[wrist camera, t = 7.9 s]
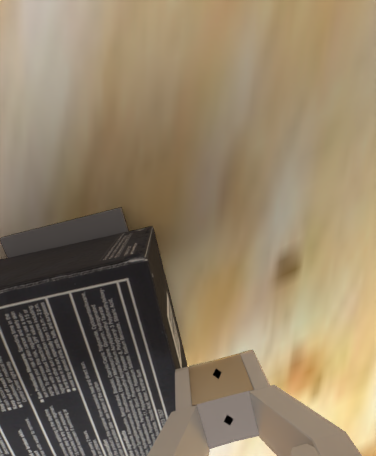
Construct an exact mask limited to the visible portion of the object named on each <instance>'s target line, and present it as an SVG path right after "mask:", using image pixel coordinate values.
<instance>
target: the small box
mask: <svg viewBox="0 0 376 456" xmlns="http://www.w3.org/2000/svg"><path fill="white" fill-rule="evenodd" d="M184 367H187V362H186V358H185V354H184V350H183V346H182V342H181V338H180V334H179V330H178V326H177V322H176V317H175V314H174V310H173V306H172V302H171V297H170V293H169V289H168V285H167V281H166V277H165V273H164V269H163V265H162V261H161V257H160V253H159V248H158V244H157V240H156V236H155V232H154V229H153V227H152V226H150V227H145V228H142V229H138V230H133V231H128V232H124V233H119V234H115V235H110V236H107V237H102V238H97V239H92V240H87V241H83V242H79V243H75V244H69V245H65V246H61V247H56V248H51V249H47V250H41V251H38V252H33V253H28V254H23V255H19V256H15V257H10V258H6V259H1V260H0V456H147V455H148V453H149V452H150V450H151V448H152V446H153V444H154V443H155V441H156V439H157V437H158V435H159V434H160V432H161V430H162V428H163V426H164V424H165V423H166V421H167V419H168V417H169V415H170V414H171V412H173V411H176V408H175V370H176V369H180V368H184Z"/></svg>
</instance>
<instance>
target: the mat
mask: <svg viewBox="0 0 376 456" xmlns="http://www.w3.org/2000/svg"><path fill="white" fill-rule="evenodd" d="M124 232H128V227H127V224H126V221H125V218H124V214H123V211H122V208H121V207H120V208H116V209H112V210H108V211H104V212H101V213H97V214H93V215H89V216H85V217H81V218H77V219H73V220H69V221H65V222H61V223H57V224H53V225H49V226H45V227H41V228H37V229H33V230H29V231H25V232H21V233H17V234H13V235H9V236H5V237H1V238H0V241H1V244H2V246H3V248H4V251H5V253H6V255H7V257H8V258H10V257H15V256H19V255H23V254H28V253H33V252H38V251H41V250H47V249H51V248H56V247H61V246H65V245H69V244H75V243H79V242H83V241H87V240H92V239H97V238H102V237H107V236H110V235H115V234H119V233H124Z"/></svg>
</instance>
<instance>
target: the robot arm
mask: <svg viewBox="0 0 376 456" xmlns="http://www.w3.org/2000/svg"><path fill="white" fill-rule="evenodd" d="M175 408H176V411H173V412H171V414H170V415H169V417H168V419H167V421H166V423H165V424H164V426H163V428H162V430H161V432H160V434H159V435H158V437H157V439H156V441H155V443H154V444H153V446H152V448H151V450H150V452H149V453H148V455H147V456H208V455H209V452H210V451H209V449H211V448H214V447H218V446H221V445H224V444H228V443H231V442H234V441H239V440H243V439H247V438H252V437H256V436H259V437H260V438H261V439H262V440H263V441H264V442H265V443H266V445H267V446H268V447H269V448H270V449H271V450H272V451H273V452H274V453H275V454H276V455H277V456H362V455H361V454H360V452H359V451H358V449H357V448H356V446H355V445H354V443H353V442H352V441H351V439H350V438H349V436H348V435H347V433H346V432H345V431H343V430H342V429H340V428H339V427H337V426H336V425H334V424H333V423H331V422H330V421H328V420H327V419H325V418H324V417H322V416H321V415H319V414H318V413H316V412H315V411H313V410H312V409H310V408H309V407H307V406H306V405H304V404H303V403H301V402H300V401H298V400H297V399H295V398H293V397H292V396H290V395H289V394H287V393H286V392H284V391H283V390H281V389H280V388H278V387H277V386H275V385H272V386H270V384H269V382H268V380H267V378H266V376H265V374H264V372H263V370H262V367H261V365H260V363H259V361H258V359H257V357H256V355H255V353H254V351H253V350H249V351H245V352H242V353H239V354H235V355H231V356H228V357H224V358H220V359H217V360H213V361H209V362H204V363H200V364H196V365H192V366H189V367H184V368H180V369H176V370H175Z"/></svg>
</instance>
